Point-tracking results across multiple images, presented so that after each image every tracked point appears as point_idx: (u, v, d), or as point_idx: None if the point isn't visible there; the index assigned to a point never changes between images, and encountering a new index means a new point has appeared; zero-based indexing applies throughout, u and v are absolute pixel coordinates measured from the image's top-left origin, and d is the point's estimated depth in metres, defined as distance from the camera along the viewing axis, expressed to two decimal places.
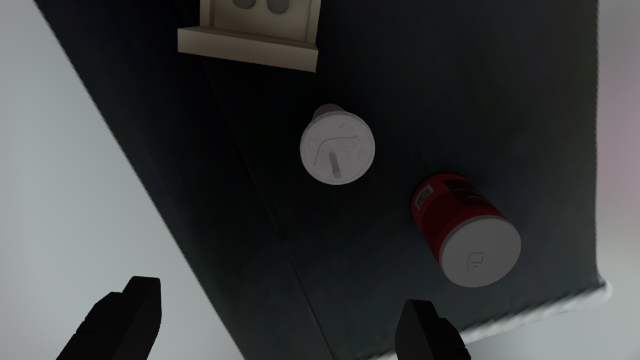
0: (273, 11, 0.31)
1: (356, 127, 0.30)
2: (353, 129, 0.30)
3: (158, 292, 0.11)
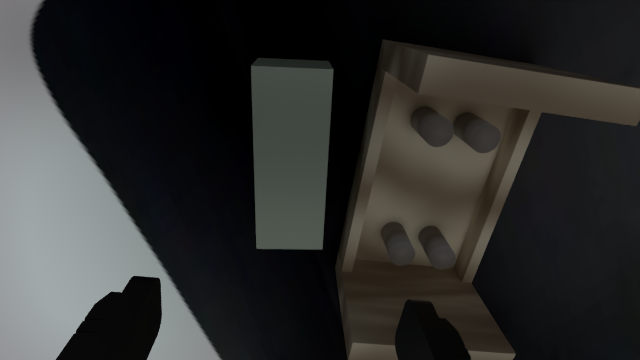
0: (436, 267, 0.26)
1: None
2: None
3: (158, 292, 0.11)
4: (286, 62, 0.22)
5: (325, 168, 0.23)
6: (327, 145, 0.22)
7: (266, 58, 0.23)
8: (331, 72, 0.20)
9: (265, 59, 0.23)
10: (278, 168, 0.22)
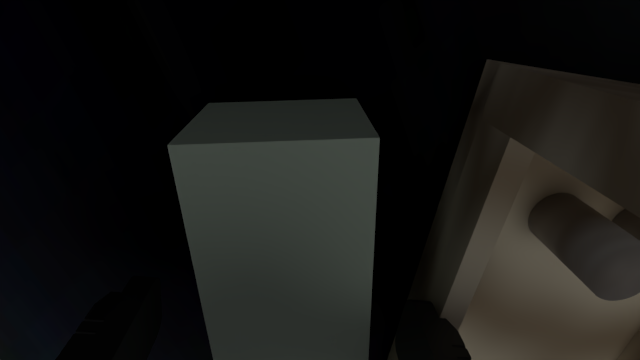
0: None
1: None
2: None
3: (158, 292, 0.11)
4: (264, 115, 0.10)
5: (365, 336, 0.10)
6: (368, 296, 0.10)
7: (225, 103, 0.11)
8: (374, 145, 0.08)
9: (221, 108, 0.10)
10: (263, 343, 0.10)
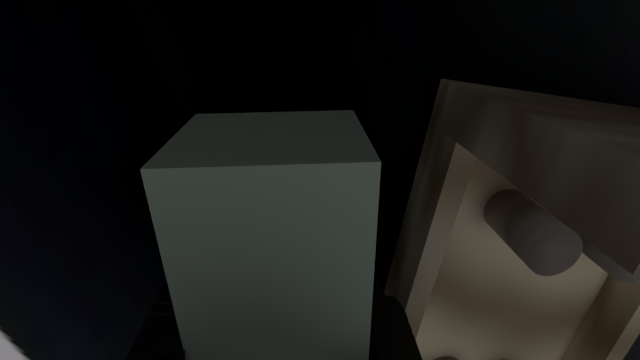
0: None
1: None
2: None
3: None
4: (253, 132, 0.09)
5: None
6: (367, 332, 0.09)
7: (211, 117, 0.10)
8: (375, 169, 0.07)
9: (206, 122, 0.09)
10: None
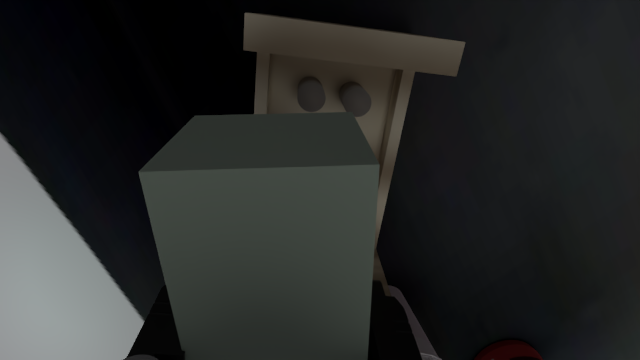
0: None
1: None
2: None
3: None
4: (252, 134, 0.09)
5: None
6: (365, 334, 0.09)
7: (210, 119, 0.10)
8: (373, 172, 0.07)
9: (205, 124, 0.09)
10: None
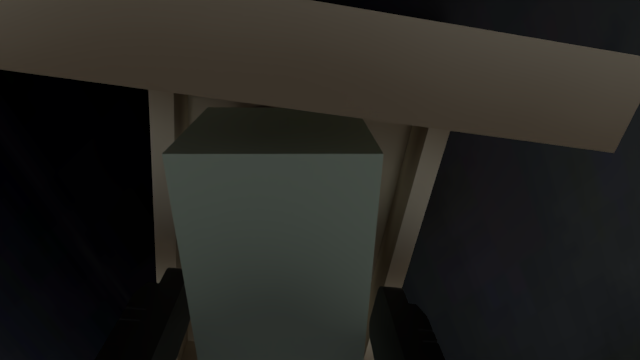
0: None
1: None
2: None
3: None
4: (263, 125, 0.09)
5: (359, 356, 0.10)
6: (364, 315, 0.09)
7: (223, 110, 0.11)
8: (378, 161, 0.08)
9: (218, 115, 0.10)
10: None
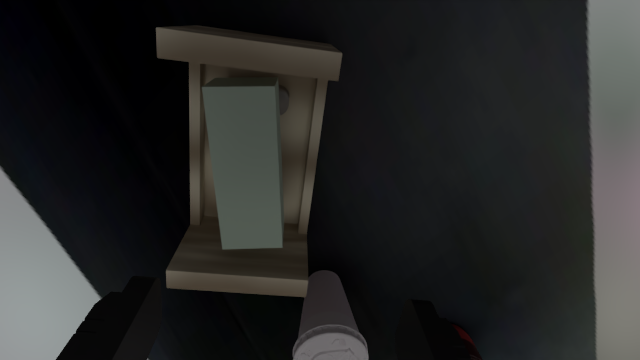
0: None
1: (349, 342, 0.29)
2: (345, 343, 0.29)
3: (158, 292, 0.11)
4: (237, 81, 0.24)
5: (277, 174, 0.25)
6: (276, 153, 0.24)
7: (221, 78, 0.26)
8: (273, 89, 0.23)
9: (220, 79, 0.25)
10: (235, 175, 0.25)
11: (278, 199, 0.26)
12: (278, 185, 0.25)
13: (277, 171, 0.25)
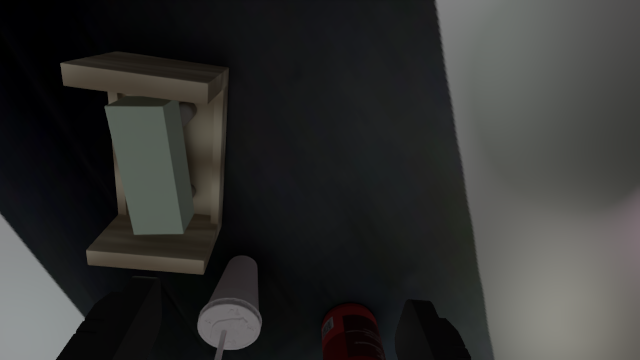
0: None
1: (242, 312, 0.36)
2: (239, 313, 0.36)
3: (158, 292, 0.11)
4: (138, 100, 0.31)
5: (172, 174, 0.31)
6: (170, 158, 0.31)
7: (130, 96, 0.32)
8: (161, 108, 0.29)
9: (127, 98, 0.32)
10: (138, 175, 0.31)
11: (175, 195, 0.32)
12: (174, 183, 0.32)
13: (172, 172, 0.31)
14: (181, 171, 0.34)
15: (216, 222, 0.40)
